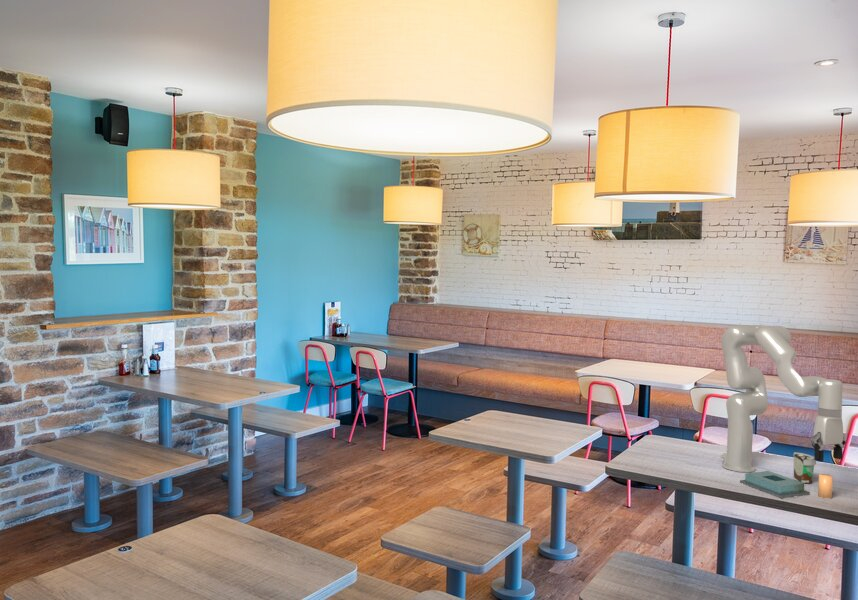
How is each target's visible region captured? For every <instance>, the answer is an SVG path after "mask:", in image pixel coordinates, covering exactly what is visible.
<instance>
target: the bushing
mask: <svg viewBox="0 0 858 600" xmlns="http://www.w3.org/2000/svg"><path fill="white" fill-rule="evenodd" d="M833 481H834V475H832V474H828V473H818V488H817V489H818V491H817V497H818V496H819V498H820V497H822V498H821V499H824V498H832V499H833V487H834V486H833Z"/></svg>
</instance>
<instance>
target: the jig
mask: <svg viewBox="0 0 858 600" xmlns="http://www.w3.org/2000/svg"><path fill="white" fill-rule="evenodd" d="M744 473H745V474H744V475H745V476H744V479H740V480H739V483H740V484H742V483H743V485H745V486H747V485H748V487H751V488H752V489H755V490H758V491H761V492H763V493H765V494H768V493H769V495H771V496H774V497H777V498H780V499H789V498H795V497H794V496H797V497H802V496H803V495H804V496H810V495H811V493H810V491H808V490H805V485H804V484H805V483H803V482H800V481H797V480H796V479H795V478H791V477H788V476H784V475H782V474H778V473H775V472H773V471H770V470H765V471H757V472H756V471H753V472H744ZM804 496H803V497H804ZM788 497H789V498H788Z"/></svg>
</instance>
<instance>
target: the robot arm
mask: <svg viewBox="0 0 858 600" xmlns="http://www.w3.org/2000/svg"><path fill="white" fill-rule="evenodd" d="M791 340H792V335H791V332H790V330H789V329H787V328H786V327H784V326H782V325H763V324H752V325H751V324H737V325H733V326H730V327H728V328H726V329H725V331H724V332H723V334H722V336H721V344H720V345H721V349H722V352H723V357H724V365H725V372H726V374H725V375H726V380H727V381H726V382H727V384H728V386H729V387H730V388H731V390H732V389H733V390H735V391H736V390H738V391H740V390H741V391H743V390H745V392H739V393H734V394H733V393H732V395H730V396H729V397H728V398H727V399H726V403H725V404H726V406H725V407H726V412H727V441H726V442H727V443H726V444H727V445H726V453H722V454H721V455H720V459H723V460H724V461H723V462H722V463H721V466H722V467H723V469H726V470H729V471H732V472H739V473H754V472H756V467H755V466H754V465H752V460H753V459H752V457H753V455H752V454H753V436H754V434H753V433H754V424H753V422H752V419H751V417H750V416H758V415H759V416H760V415H762V414H765V412H766V411H767V410H768V405H769V404H768V403H769V401H768V392H767V385H766V380H765V379H766V378H765V376H764V373H763V372H762V371H761V369H760V368H758V367H757V366H749V365H748V358H747V355H746V352H745V350H744V349H743V348H742V346H743V347H744V346H760V348H762V349H763V350H764V352H765V353H766V355H768V356H769V358H770V359H771V360H772V361H773V362H774V363H775V365H776V372H777V377H778V378H779V380H780V381H781V384H783V385H784V387H785V388H786V389H787V390H788V391H789V392H790V393H791V394H792V395H794V396H795V397H800V398H807V397H817V402H818V403H817V416H816V418H815V421H814V425H813V426H814V427H813V436H812V437H810V442H811V446H812V448H813V450H814V456H813V457H814V459H815V460H816V462H821V463H822V462H824V456H825V452H824V451H825V450H823V449H824V447H825V446H833V448H832V449H833V451H832V453H833V454H832V456H833V459H836V460H840V461H841V460H843V452H844V451H843V449H844V448H845V444H846V441H847V438H848V435H847V434H845V433H844V425H843V424H844V423H843V418H842V417H843V416H842V415H843V413H842V412H843V382H842V381H841V380H839V379H835V378H834V379H833V378H825V377H822V376H818V375H810V376H809V375H808V376H806V375H805V376H802V375H800V374H799V372H797V370H796V369H795V368H794V366H793V364H792V362H793V361H794V360H795V359H796V357H797V351H796V350H795V349H794V347H792V346H791V345H790V343H791Z"/></svg>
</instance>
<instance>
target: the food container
mask: <svg viewBox="0 0 858 600" xmlns="http://www.w3.org/2000/svg"><path fill="white" fill-rule="evenodd" d="M792 457H793V476H792V477H793V479H794V480H797V481H800V482H803V483H805V484H808V485H812V483H813V476H814V469H815V465H817V460H815V459H814V456H813V455H810V454H808V453H803V452H795V451H794V452H793V455H792Z"/></svg>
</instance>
